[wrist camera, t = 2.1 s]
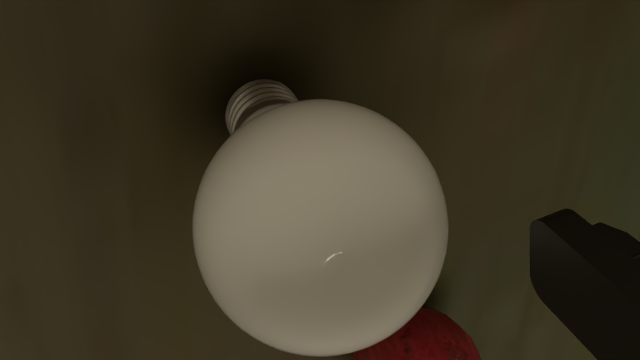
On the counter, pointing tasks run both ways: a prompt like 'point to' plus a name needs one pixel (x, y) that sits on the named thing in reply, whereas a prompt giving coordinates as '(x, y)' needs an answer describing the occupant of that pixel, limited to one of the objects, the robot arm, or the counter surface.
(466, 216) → the counter surface
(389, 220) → the lightbulb
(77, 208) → the counter surface
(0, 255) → the counter surface
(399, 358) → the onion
